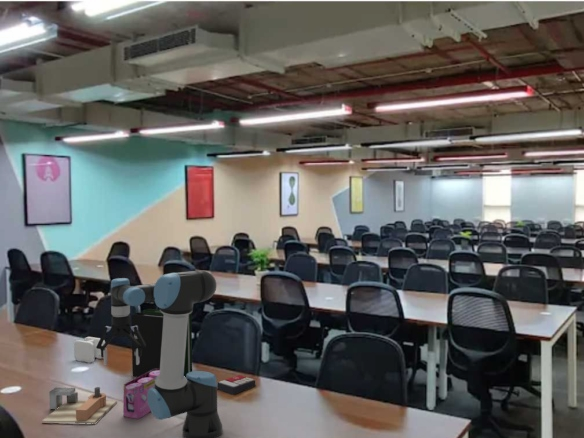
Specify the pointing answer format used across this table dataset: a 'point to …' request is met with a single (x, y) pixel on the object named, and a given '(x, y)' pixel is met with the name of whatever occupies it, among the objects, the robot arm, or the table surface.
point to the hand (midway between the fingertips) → (121, 364)
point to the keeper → (57, 396)
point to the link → (90, 406)
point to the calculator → (235, 384)
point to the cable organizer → (87, 349)
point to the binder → (155, 342)
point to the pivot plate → (69, 411)
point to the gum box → (138, 394)
